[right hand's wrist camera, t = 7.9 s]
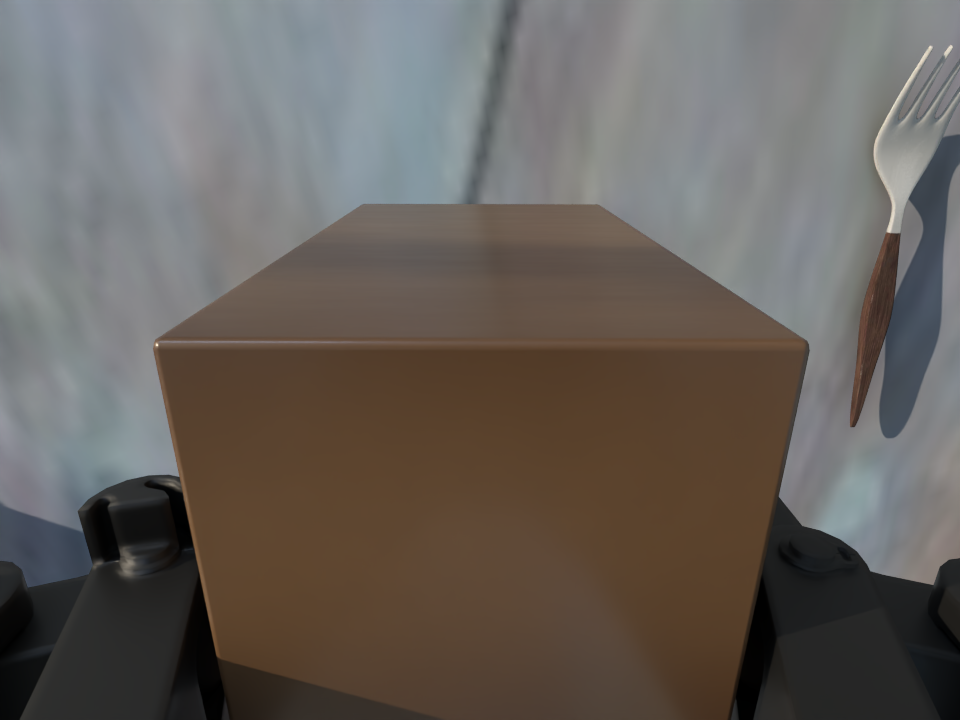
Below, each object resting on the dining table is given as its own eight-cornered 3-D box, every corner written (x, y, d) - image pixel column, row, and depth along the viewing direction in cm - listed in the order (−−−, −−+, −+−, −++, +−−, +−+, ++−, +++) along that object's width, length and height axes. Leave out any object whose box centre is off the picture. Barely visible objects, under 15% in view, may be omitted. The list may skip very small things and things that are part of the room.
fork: (818, 422, 29) (841, 443, 27) (890, 52, 23) (925, 45, 21) (873, 421, 29) (900, 441, 27) (958, 49, 23) (1000, 43, 21)
